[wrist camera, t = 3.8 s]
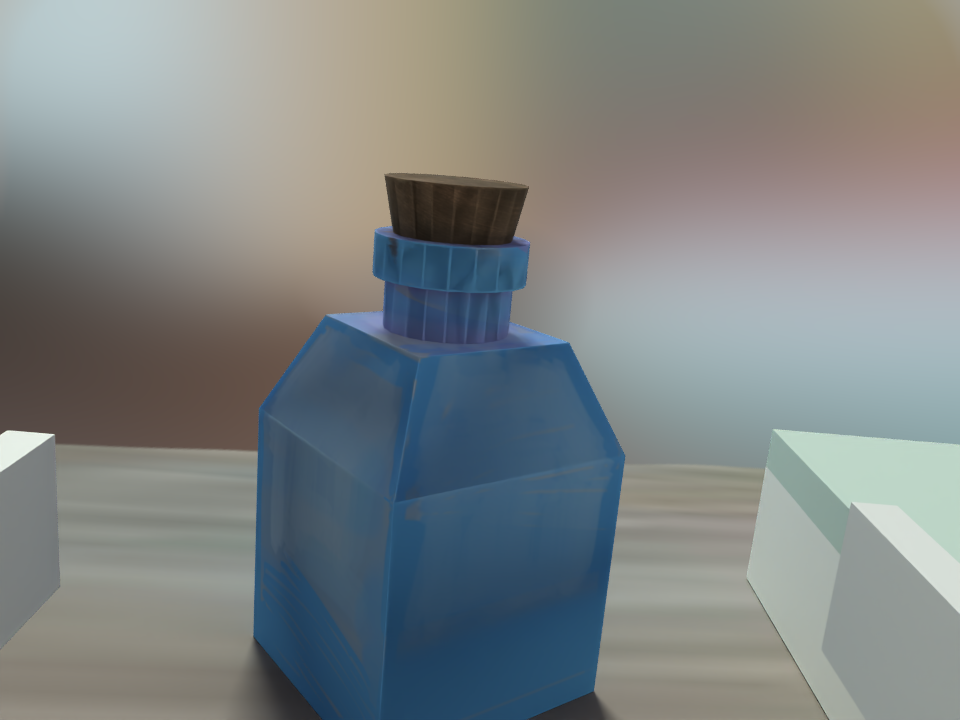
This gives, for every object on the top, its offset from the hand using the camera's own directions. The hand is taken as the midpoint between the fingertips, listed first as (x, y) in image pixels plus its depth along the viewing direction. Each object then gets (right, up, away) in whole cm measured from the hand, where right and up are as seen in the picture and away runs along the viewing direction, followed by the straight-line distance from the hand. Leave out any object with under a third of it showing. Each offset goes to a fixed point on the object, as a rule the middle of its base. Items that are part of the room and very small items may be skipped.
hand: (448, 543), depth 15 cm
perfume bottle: (-1, -5, +8) cm, 9 cm away
